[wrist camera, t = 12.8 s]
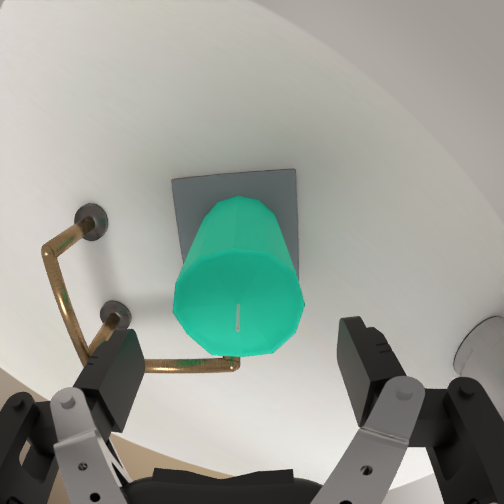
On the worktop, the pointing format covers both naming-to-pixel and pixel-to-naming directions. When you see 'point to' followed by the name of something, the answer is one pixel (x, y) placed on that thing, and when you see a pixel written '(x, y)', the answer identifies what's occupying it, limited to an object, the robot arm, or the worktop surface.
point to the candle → (238, 282)
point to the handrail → (112, 313)
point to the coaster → (230, 185)
